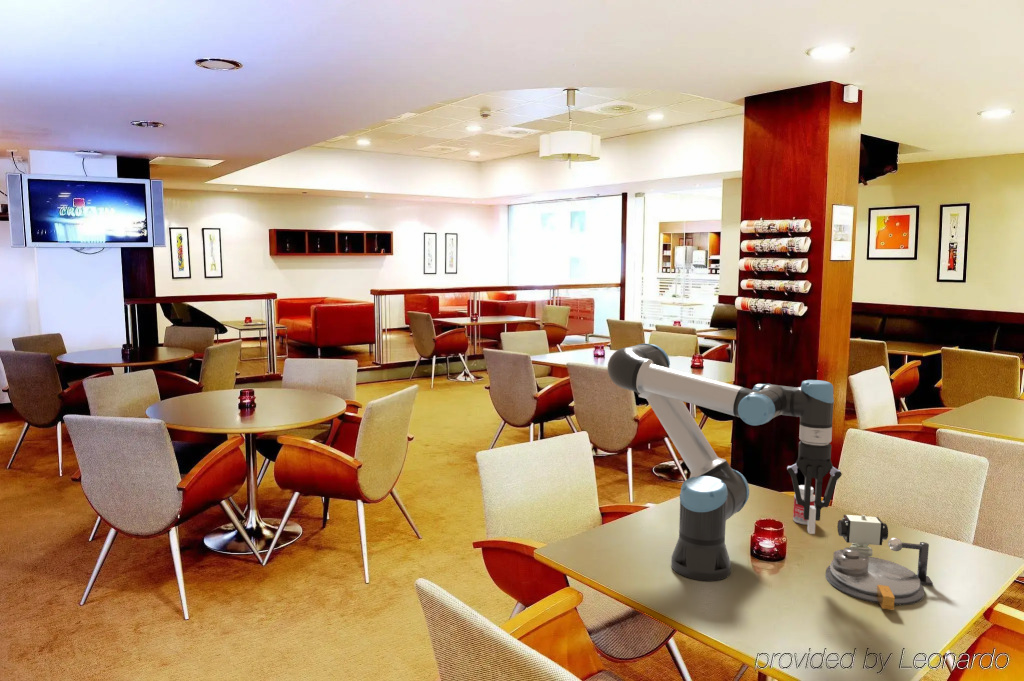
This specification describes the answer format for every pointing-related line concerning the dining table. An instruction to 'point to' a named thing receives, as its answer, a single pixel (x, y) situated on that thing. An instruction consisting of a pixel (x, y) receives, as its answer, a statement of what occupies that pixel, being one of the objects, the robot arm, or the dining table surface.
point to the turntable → (882, 581)
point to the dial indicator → (923, 549)
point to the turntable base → (873, 598)
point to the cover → (850, 562)
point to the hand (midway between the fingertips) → (811, 531)
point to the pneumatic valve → (862, 532)
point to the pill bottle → (799, 509)
